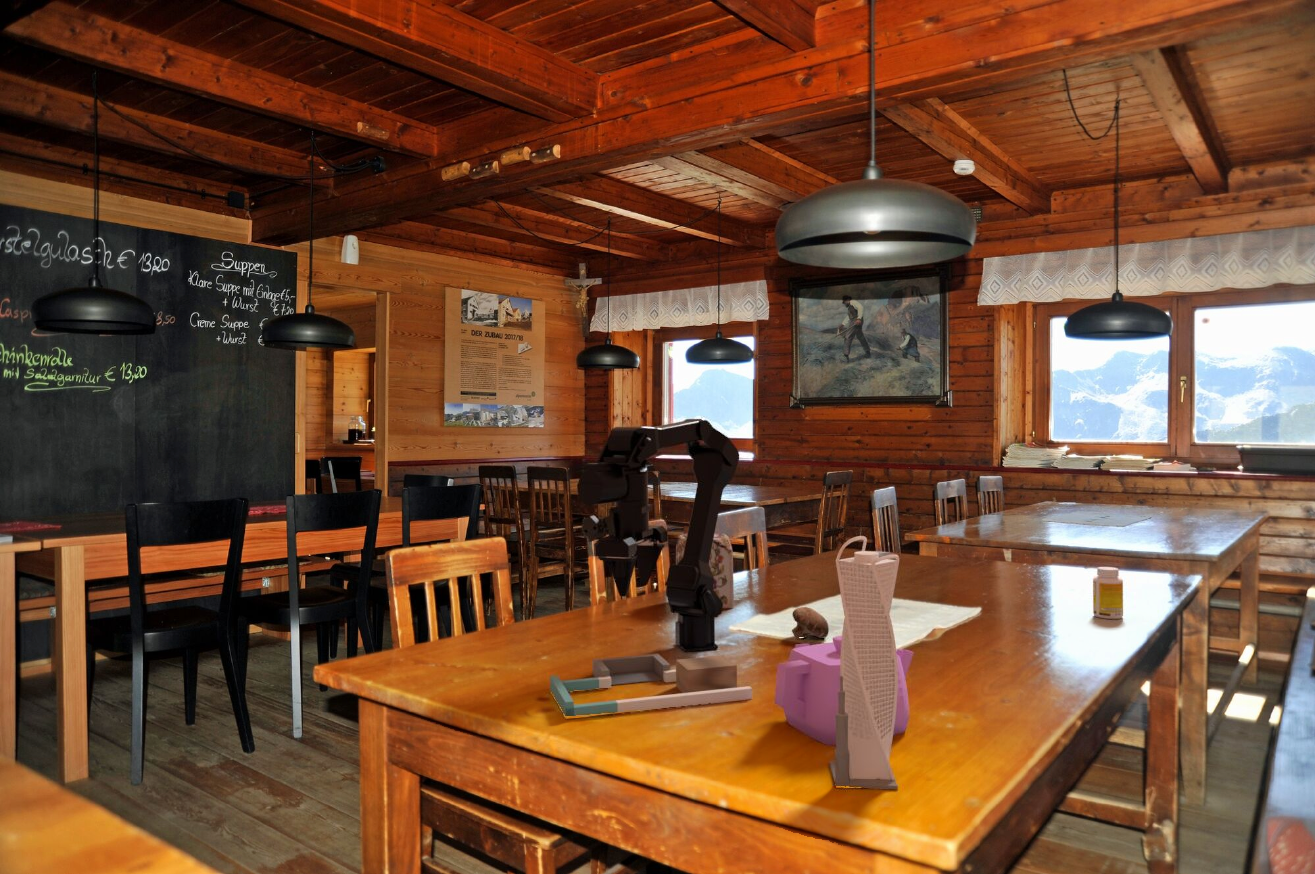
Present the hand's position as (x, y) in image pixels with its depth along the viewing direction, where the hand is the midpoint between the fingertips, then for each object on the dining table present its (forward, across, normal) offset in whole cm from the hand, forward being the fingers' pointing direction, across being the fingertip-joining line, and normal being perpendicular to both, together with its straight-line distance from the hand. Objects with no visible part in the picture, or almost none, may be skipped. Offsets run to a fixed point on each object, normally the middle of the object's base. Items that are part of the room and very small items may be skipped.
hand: (633, 590), depth 150 cm
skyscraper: (+13, +32, +44) cm, 56 cm away
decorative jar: (+14, -53, -5) cm, 55 cm away
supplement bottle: (+15, -66, +79) cm, 104 cm away
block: (+14, +8, +15) cm, 22 cm away
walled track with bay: (+13, +10, +6) cm, 18 cm away
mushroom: (+14, -30, +24) cm, 41 cm away
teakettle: (+14, +16, +38) cm, 44 cm away
